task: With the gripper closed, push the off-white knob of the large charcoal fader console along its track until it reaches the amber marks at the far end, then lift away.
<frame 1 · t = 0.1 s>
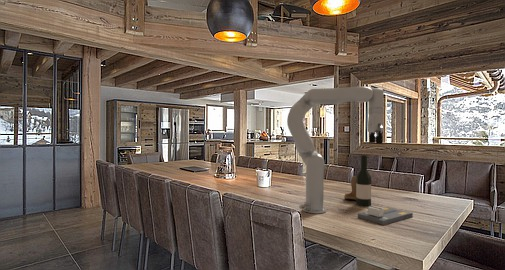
hand: (375, 143, 161), 37 cm above the table, tool pointing down, fingers open, 9 cm apart
fader knob: (375, 210, 147), point 4 cm above the table, slide at 0.0 cm
fader console: (385, 217, 151), on the table
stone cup: (356, 199, 189), on the table
wine bottle: (363, 205, 176), on the table
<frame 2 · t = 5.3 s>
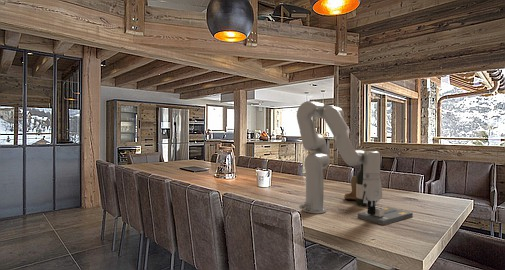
hand: (371, 214, 145), 3 cm above the table, tool pointing down, fingers closed
fader knob: (376, 210, 147), point 4 cm above the table, slide at 0.5 cm, touching gripper
everything else where it was.
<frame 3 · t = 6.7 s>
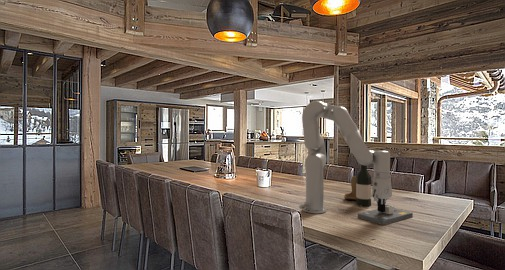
hand: (381, 211, 149), 3 cm above the table, tool pointing down, fingers closed
fader knob: (386, 208, 151), point 4 cm above the table, slide at 8.5 cm, touching gripper
everything else where it was.
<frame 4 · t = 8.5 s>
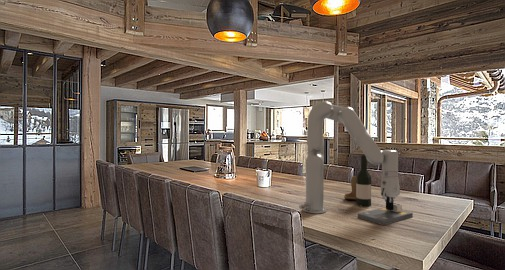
hand: (389, 209, 153), 3 cm above the table, tool pointing down, fingers closed
fader knob: (394, 206, 155), point 4 cm above the table, slide at 15.5 cm, touching gripper
everything else where it was.
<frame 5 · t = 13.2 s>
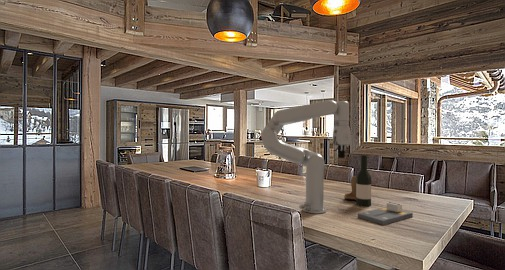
hand: (341, 157, 162), 29 cm above the table, tool pointing down, fingers closed
fader knob: (394, 206, 155), point 4 cm above the table, slide at 15.6 cm
everything else where it was.
at the end: fader knob slide at 15.6 cm; wine bottle moved 0.2 cm from its start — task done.
